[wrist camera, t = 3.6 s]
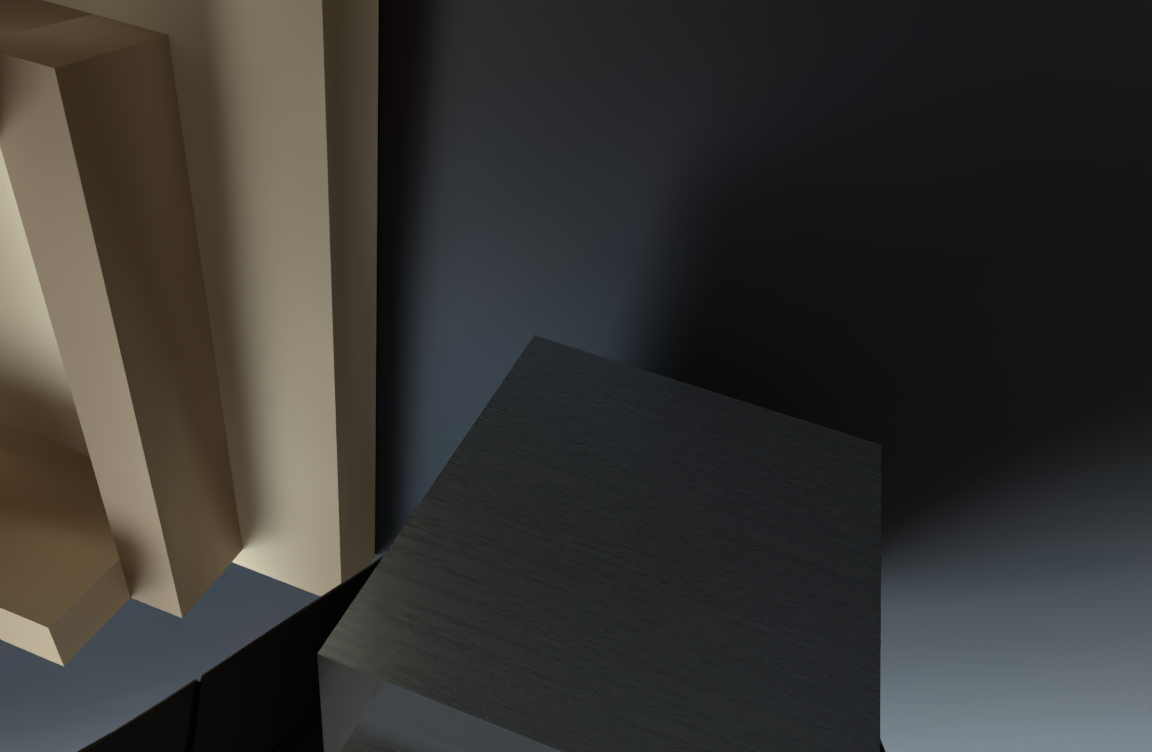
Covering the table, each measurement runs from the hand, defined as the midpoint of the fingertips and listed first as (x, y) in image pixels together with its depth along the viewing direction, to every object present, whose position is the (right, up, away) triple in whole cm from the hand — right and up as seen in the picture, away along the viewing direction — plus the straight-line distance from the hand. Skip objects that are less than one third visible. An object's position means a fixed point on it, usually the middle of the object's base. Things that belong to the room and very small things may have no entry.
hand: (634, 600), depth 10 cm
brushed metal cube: (0, +1, +1) cm, 1 cm away
